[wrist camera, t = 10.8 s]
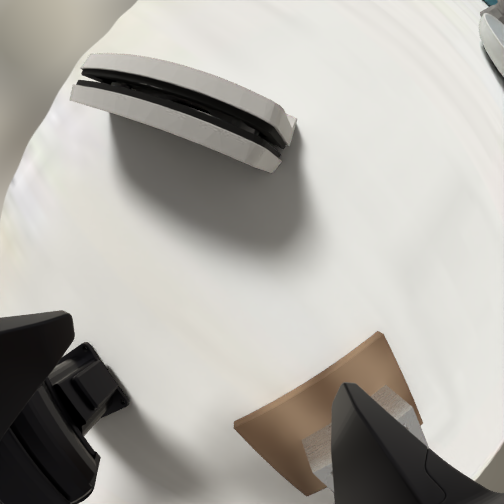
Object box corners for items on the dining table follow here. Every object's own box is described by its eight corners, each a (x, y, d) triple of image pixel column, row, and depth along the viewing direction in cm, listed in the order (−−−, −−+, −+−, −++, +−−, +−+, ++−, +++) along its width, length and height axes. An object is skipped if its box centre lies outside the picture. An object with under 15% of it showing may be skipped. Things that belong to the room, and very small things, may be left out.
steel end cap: (339, 480, 18) (352, 508, 14) (301, 439, 18) (312, 472, 14) (409, 434, 19) (431, 455, 14) (385, 384, 19) (412, 407, 14)
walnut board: (305, 490, 19) (306, 496, 18) (234, 421, 19) (233, 428, 18) (418, 419, 20) (423, 423, 19) (377, 331, 20) (383, 334, 19)
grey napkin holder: (300, 124, 20) (313, 88, 10) (276, 174, 21) (270, 176, 12) (136, 68, 20) (71, 34, 10) (116, 111, 21) (43, 94, 11)
